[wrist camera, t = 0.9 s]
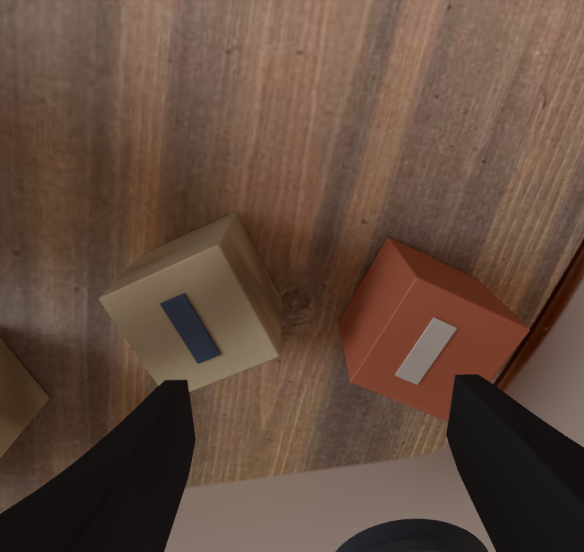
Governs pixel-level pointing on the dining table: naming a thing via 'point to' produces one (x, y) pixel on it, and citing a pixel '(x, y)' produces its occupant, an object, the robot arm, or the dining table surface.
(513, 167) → the dining table surface
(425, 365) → the terracotta block
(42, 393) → the beech block
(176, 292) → the beech block
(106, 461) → the robot arm
